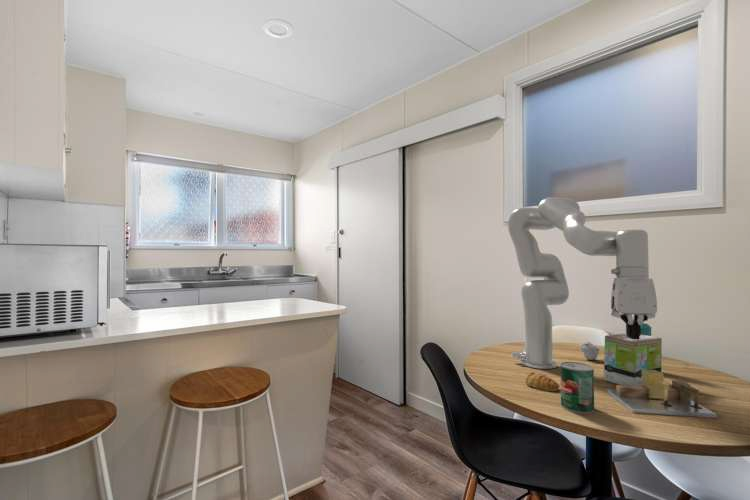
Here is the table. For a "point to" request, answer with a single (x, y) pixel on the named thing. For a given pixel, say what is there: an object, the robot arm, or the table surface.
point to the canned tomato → (577, 387)
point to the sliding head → (655, 384)
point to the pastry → (541, 382)
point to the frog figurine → (589, 350)
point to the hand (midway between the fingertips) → (633, 338)
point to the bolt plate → (662, 406)
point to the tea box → (630, 358)
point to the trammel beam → (677, 391)
